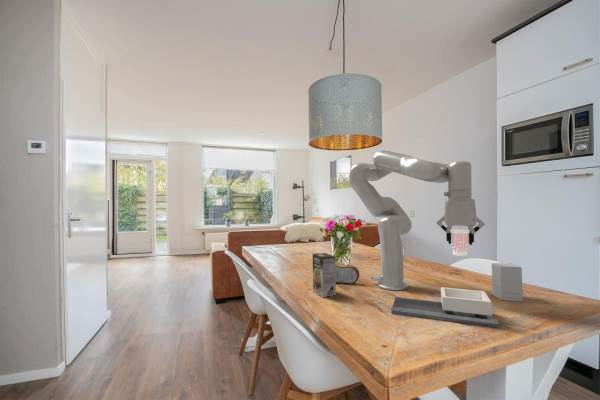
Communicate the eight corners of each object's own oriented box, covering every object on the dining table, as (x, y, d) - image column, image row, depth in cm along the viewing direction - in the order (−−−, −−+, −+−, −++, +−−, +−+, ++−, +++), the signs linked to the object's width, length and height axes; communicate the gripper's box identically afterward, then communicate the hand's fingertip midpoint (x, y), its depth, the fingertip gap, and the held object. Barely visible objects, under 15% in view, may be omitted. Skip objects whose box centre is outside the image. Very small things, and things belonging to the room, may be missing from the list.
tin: (359, 283, 131) (359, 265, 132) (358, 285, 128) (358, 266, 129) (328, 281, 136) (327, 263, 136) (326, 282, 133) (326, 264, 134)
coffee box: (312, 291, 120) (311, 253, 120) (325, 289, 123) (325, 252, 123) (322, 298, 112) (321, 257, 112) (336, 295, 114) (335, 255, 115)
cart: (442, 316, 89) (442, 297, 89) (441, 304, 99) (440, 287, 99) (492, 322, 84) (491, 302, 84) (484, 309, 94) (484, 291, 94)
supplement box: (523, 301, 104) (522, 267, 104) (501, 300, 105) (500, 266, 105) (512, 295, 111) (511, 263, 111) (491, 294, 112) (490, 262, 113)
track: (391, 313, 95) (391, 307, 95) (395, 301, 106) (394, 296, 106) (498, 327, 83) (498, 321, 83) (489, 313, 93) (489, 307, 94)
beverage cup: (464, 253, 107) (464, 216, 107) (472, 256, 101) (472, 217, 101) (447, 253, 108) (447, 216, 108) (455, 256, 102) (454, 217, 102)
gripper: (434, 195, 104) (434, 244, 104) (489, 194, 97) (489, 246, 97) (433, 195, 111) (433, 241, 111) (485, 195, 104) (485, 243, 104)
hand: (459, 243), depth 104 cm, fingers closed on beverage cup, 6 cm apart
